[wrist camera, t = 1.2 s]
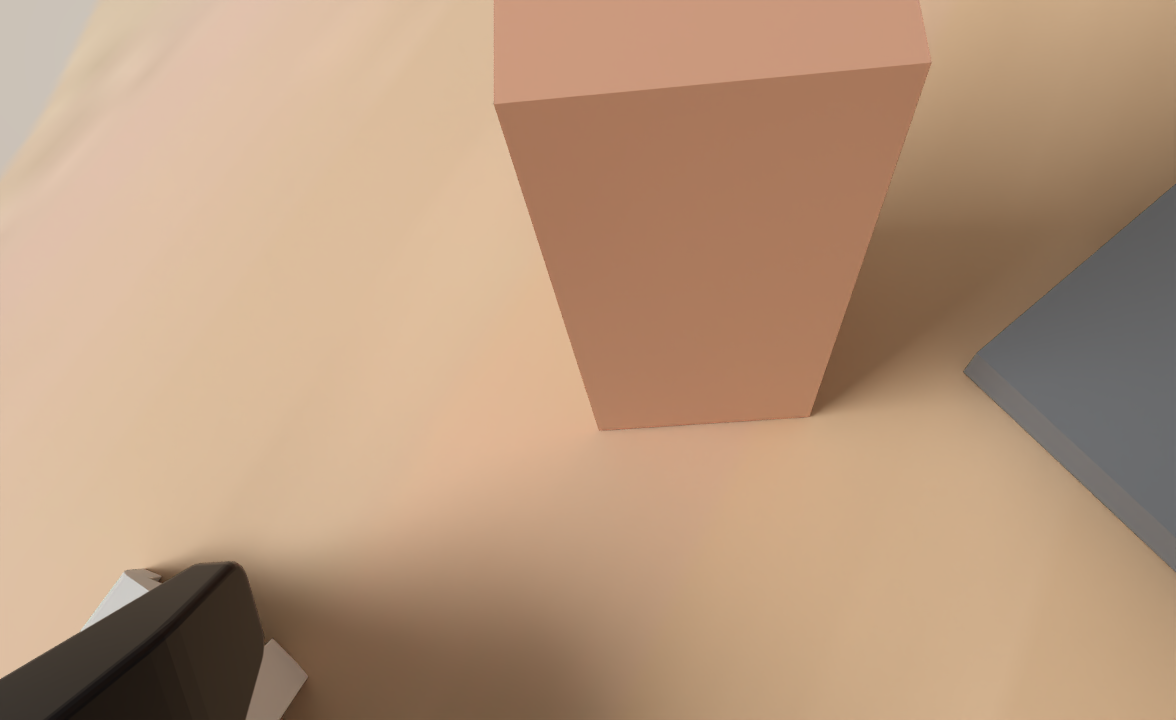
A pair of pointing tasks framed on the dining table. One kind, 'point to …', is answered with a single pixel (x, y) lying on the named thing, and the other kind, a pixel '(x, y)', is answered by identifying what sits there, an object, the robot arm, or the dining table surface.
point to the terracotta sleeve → (705, 186)
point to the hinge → (277, 667)
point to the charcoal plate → (1103, 374)
